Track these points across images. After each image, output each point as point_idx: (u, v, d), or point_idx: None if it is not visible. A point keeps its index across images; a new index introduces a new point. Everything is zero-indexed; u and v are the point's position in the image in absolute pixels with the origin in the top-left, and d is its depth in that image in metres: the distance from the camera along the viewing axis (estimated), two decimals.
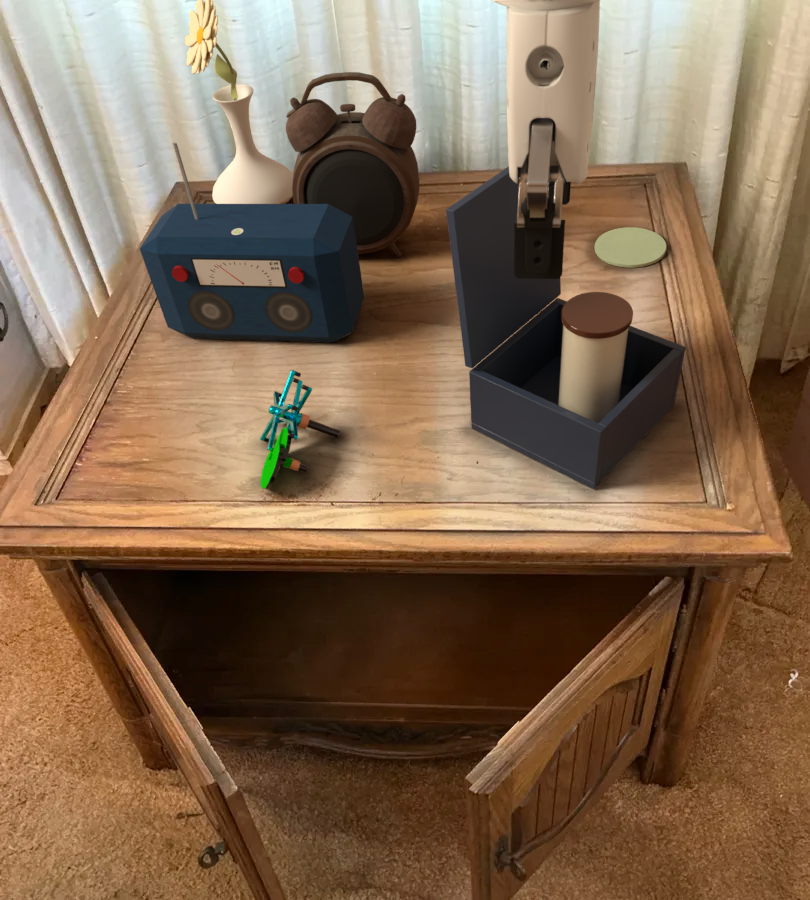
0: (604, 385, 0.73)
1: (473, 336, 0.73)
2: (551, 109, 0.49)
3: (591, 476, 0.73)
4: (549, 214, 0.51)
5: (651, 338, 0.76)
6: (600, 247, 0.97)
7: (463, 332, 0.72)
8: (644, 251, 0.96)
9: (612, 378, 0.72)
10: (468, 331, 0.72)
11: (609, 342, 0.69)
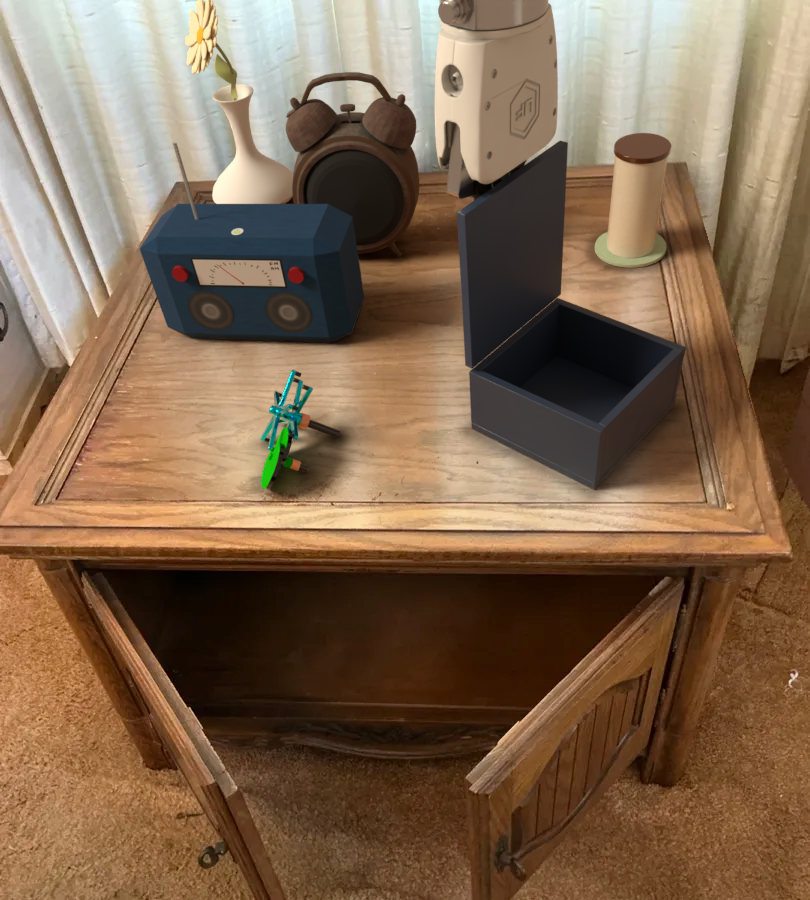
0: (647, 208, 0.91)
1: (475, 337, 0.73)
2: (456, 116, 0.61)
3: (591, 476, 0.73)
4: (476, 190, 0.66)
5: (651, 338, 0.76)
6: (600, 247, 0.97)
7: (465, 333, 0.72)
8: None
9: (653, 202, 0.91)
10: (471, 332, 0.72)
11: (653, 168, 0.88)
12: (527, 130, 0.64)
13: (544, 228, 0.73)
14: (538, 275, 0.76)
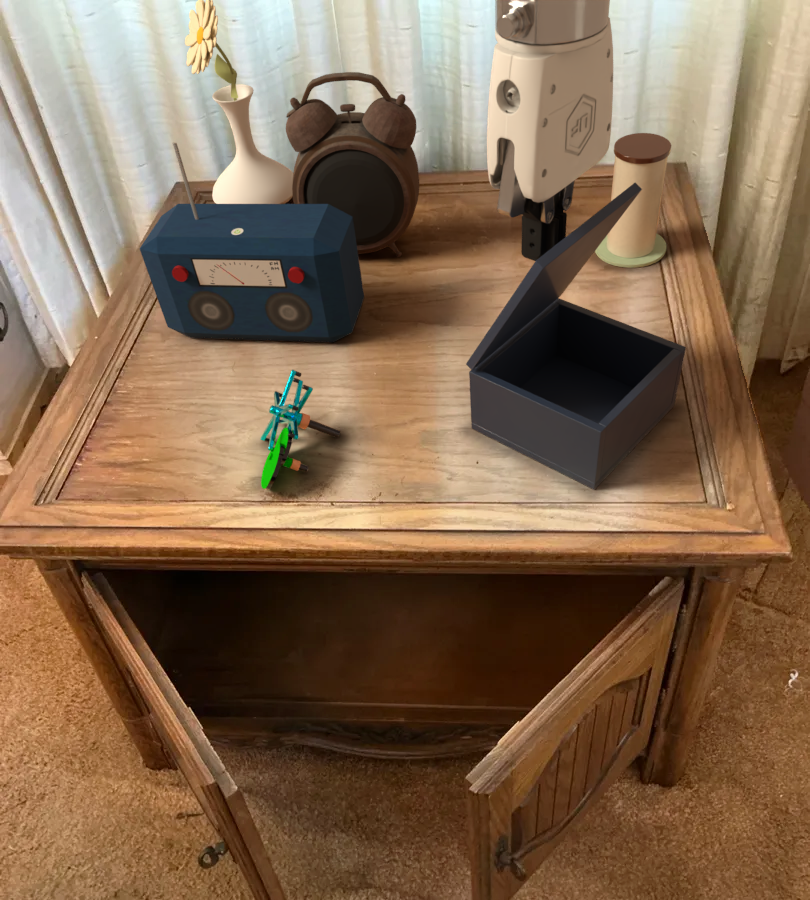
0: (647, 208, 0.91)
1: (488, 348, 0.72)
2: (511, 133, 0.58)
3: (591, 476, 0.73)
4: (527, 208, 0.64)
5: (651, 338, 0.76)
6: (600, 247, 0.97)
7: (482, 344, 0.72)
8: None
9: (653, 202, 0.91)
10: (488, 346, 0.71)
11: (653, 168, 0.88)
12: (582, 146, 0.62)
13: (583, 255, 0.72)
14: (557, 289, 0.75)
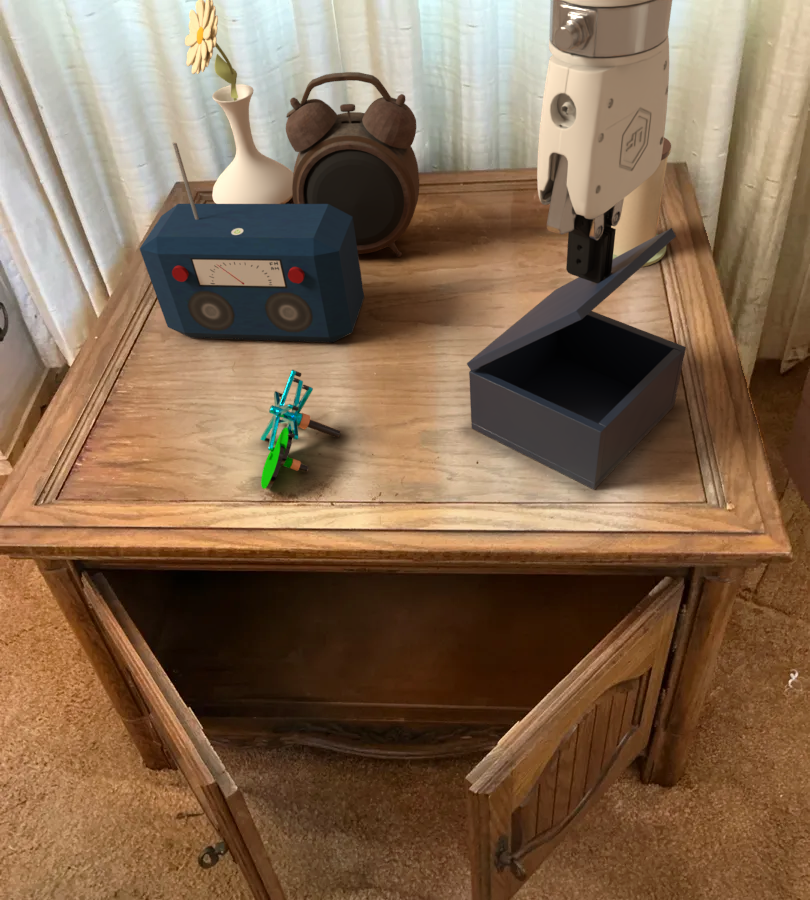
0: (647, 208, 0.91)
1: None
2: (565, 148, 0.56)
3: (591, 476, 0.73)
4: (577, 225, 0.62)
5: (651, 338, 0.76)
6: None
7: (491, 355, 0.72)
8: None
9: (653, 202, 0.91)
10: (496, 358, 0.72)
11: None
12: (635, 161, 0.60)
13: None
14: None
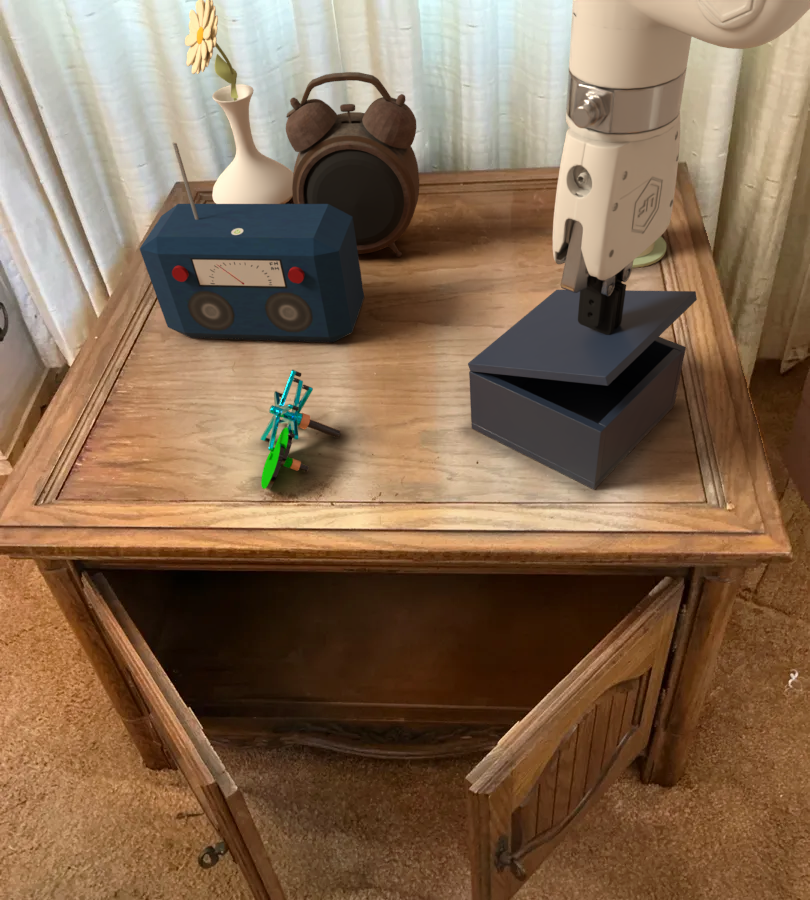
0: None
1: None
2: (580, 215, 0.59)
3: (591, 476, 0.73)
4: (590, 283, 0.64)
5: None
6: None
7: (498, 369, 0.72)
8: None
9: None
10: (502, 374, 0.72)
11: None
12: (646, 224, 0.62)
13: None
14: None
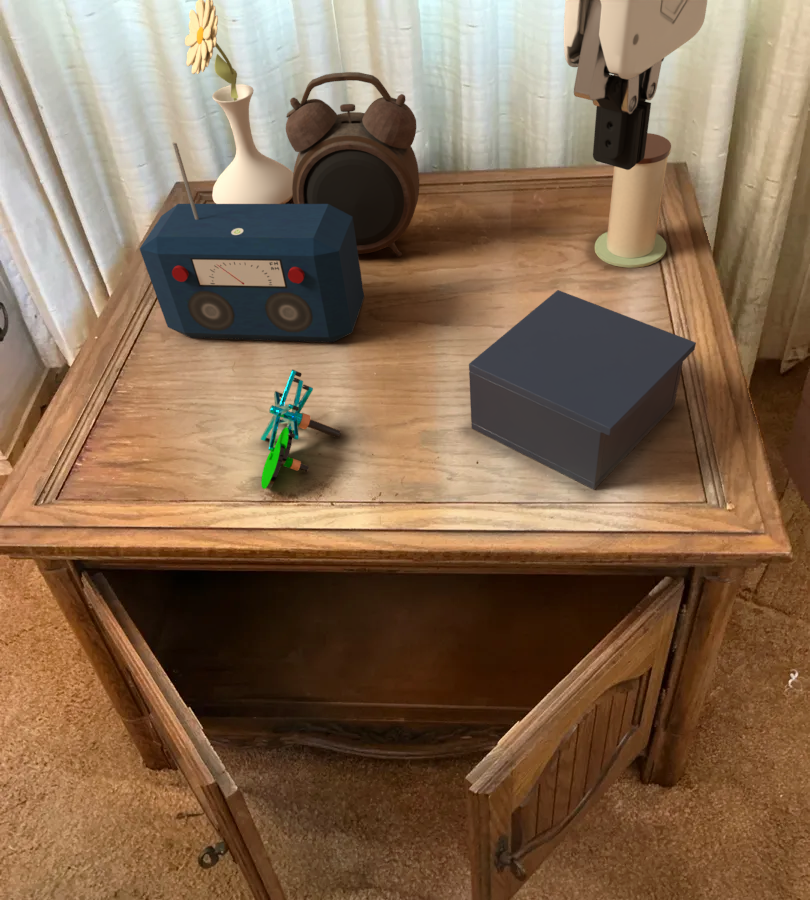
0: (647, 208, 0.91)
1: None
2: None
3: (591, 476, 0.73)
4: (609, 91, 0.54)
5: None
6: (600, 247, 0.97)
7: (501, 381, 0.73)
8: None
9: (653, 202, 0.91)
10: None
11: (653, 168, 0.88)
12: (677, 12, 0.52)
13: None
14: None
